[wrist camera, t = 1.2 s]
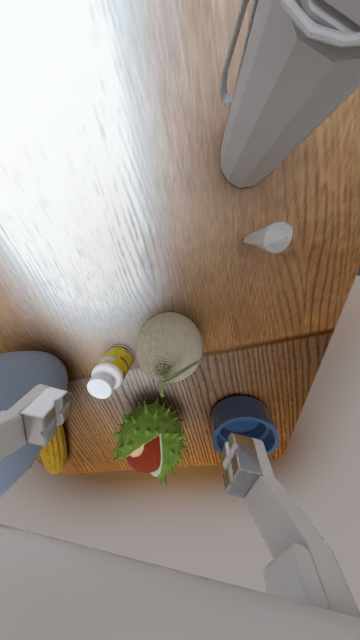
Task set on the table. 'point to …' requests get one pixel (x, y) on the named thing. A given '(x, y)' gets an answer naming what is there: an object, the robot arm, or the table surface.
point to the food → (55, 452)
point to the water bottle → (286, 80)
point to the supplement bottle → (110, 371)
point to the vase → (10, 386)
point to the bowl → (243, 422)
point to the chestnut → (151, 439)
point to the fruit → (169, 348)
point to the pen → (271, 237)
